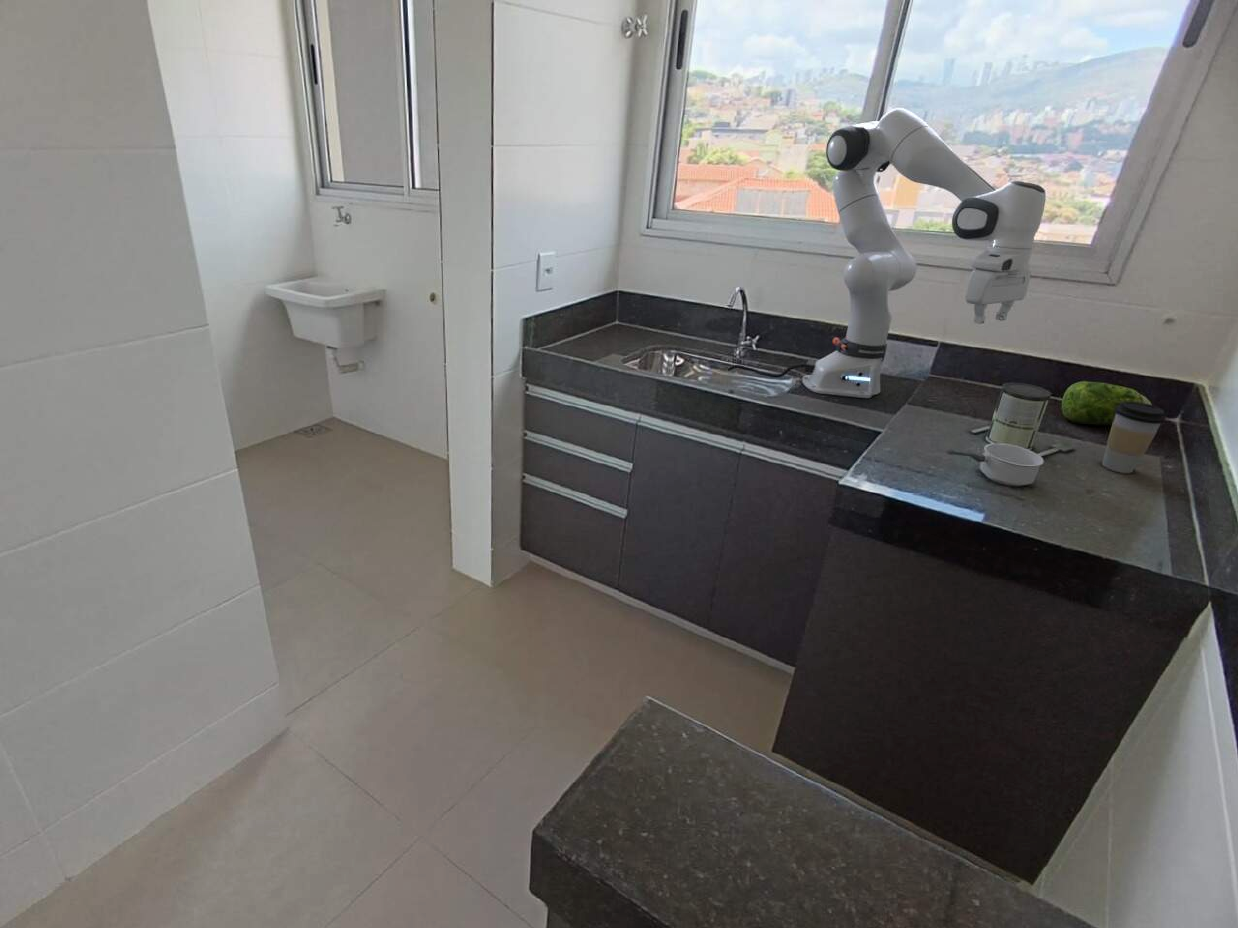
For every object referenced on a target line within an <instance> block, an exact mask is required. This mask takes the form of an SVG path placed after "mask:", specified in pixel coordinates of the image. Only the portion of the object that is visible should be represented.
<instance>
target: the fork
mask: <svg viewBox="0 0 1238 928" xmlns="http://www.w3.org/2000/svg"><path fill="white" fill-rule="evenodd" d="M989 427H990V425H987V426H982V427H979V428H976V429H972V430H970V431H969V433H971V434H972V435H977V434H980V433H984V432H988V431H989Z"/></svg>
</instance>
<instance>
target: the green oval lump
mask: <svg viewBox="0 0 1238 928" xmlns="http://www.w3.org/2000/svg"><path fill="white" fill-rule="evenodd" d="M1123 401H1135V402H1141V403H1146V404H1150V405H1152V403H1151V401H1150V400H1149V399H1148V398H1147V397H1146V396H1144V395H1142V394H1141V393H1139V392H1138V391H1136V390H1135V389H1132V388H1129V387H1126V386H1121V385H1116V384H1111V383H1107V382H1099V381H1098V382H1097V381H1085V380H1083V381H1077V382H1075V383H1073V384H1071V385H1070V386H1068V387H1067V389H1066V390H1065V392H1064V393H1063V396H1062V400H1061V411H1062V415H1063V416H1064V417H1065V419H1068V420H1069V421H1070V422H1072V423H1074V424H1080V425H1092V426H1093V425H1094V426H1112V423H1113V422H1114V419H1115V416H1116V413H1115V412H1114V409H1115V408H1116V406H1118V405H1120V404H1121V403H1122V402H1123Z"/></svg>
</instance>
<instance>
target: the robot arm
mask: <svg viewBox="0 0 1238 928" xmlns="http://www.w3.org/2000/svg"><path fill="white" fill-rule="evenodd" d="M825 147H826V148H825V156H826V160H827V163H828V165H829V166H830V167H831V168H832V169H833V170H836V171H837V172H836V173H835V175H834V177H833V178H832V190H833V197H834V198H833V199H834V203H835V206H836V210H837V213H838V216H839V219H840V223H841V225H842V228H843V232H844V234H845V238H846V240H847V241H848V243H849V244H850V245H851V246H853V247H854V248H855V250H857V252H858V253H859V255H858V256H856V257H854V258H852V259H851V260H849V262H848V263H847V264H846V265H845V267H844V270H843V281H844V284H845V286H846V287H847V289H848V292H849V298H850V313H849V320H848V325H847V330H846V334H845V337H844V338H842V339H841V338H839V337H834V338H833V339H832V344H833V345H835V346H837V347H836V350H835V351H833V352H832V353H829V354H828V355H826V356H824V357H823V358H820V359H818V360H813V359H808V360H807V361H806V363H800V364H799V363H798V364H793V365H790V366H789V367H787V368H786V369H785V370H784V371H783V372H781V373H776V374H775V373H774V374H773V373H771V372H770V373H769V372H765V371H761V370H758V369H756V368H752V367H748V366H744V365H739V364H734V365H732V366H729V367H728V368H727V369H726V371H729V372H730V371H732V370H734V369H741V370H744V371H750V372H752V373H755V374H757V375H761V376H764V377H769V378H782V377H784V376H786V375H787V374H788V373H789V372H790V371H791V370H794V369H798V368H804V372H805V373H810V374H806V375H803V377H802V379H801V382H802V384H803V386H805V387H806V389H808V390H810V391H811V392H813V393H816V394H821V395H822V394H823V395H831V396H832V395H833V396H841V397H852V398H861V399H871V398H872V396H876V395H878V394H880V393H881V374H882V373H881V372H882V364H883V362H884V360H885V357H886V353H887V347H888V344H887V340H888V336H889V331H890V327H891V323H892V319H893V317H892V313H891V312H890V310H889V309H890V308H889V292H892V291H896V290H900V289H901V288H904V287H905V286H907V285H908V284H910V283H911V282H912V281H913V280H914V278H915V276H916V273H917V270H918V267H917V262H916V259H915V258H914V256H913V255H911V253H909V252H908V251H907V250H906V249H905V247H904V246H903V245H902V242H901V241H900V239H899V238H898V237H897V235H896V233H895V232H894V230H893V228H892V227H891V225H890V223H889V220H888V217H887V215H886V212H885V209H884V206H883V203H882V200H881V198H880V197H881V196H880V193H879V192H878V188H877V185H876V182H875V177H876V173H883V172H885V171H886V170H887V168H888V167H890V164H891V166H892V167H893V168H894V169H895V170H896V171H897V172H898V173H899V174H901V175H902V176H903V177H905V179H908V180H910V181H911V182H913V183H916V184H922V185H928V186H932V187H936V188H940V189H943V190H945V191H947V192H949V193H950V194H952V195H954V196H955V197H956V198H957V199H958V200H959V201H960V203H959V204H958V205H957V206H956V208H955V210H954V211H953V214H952V216H951V217H952V218H951V228H952V231H953V233H954V234H955V235H956V236H957V237H958V238H960V239H963V240H965V241H981V242H982V241H988V245H987V249H986V250H984V251H983V252H982V253H981V254H979V255H977V256H975V257H974V258H973V260H972V262H971V268H972V269H973V270H972V271H971V273H970V276H969V279H968V283H967V287H966V292H965V301H966V303H967V304H970V305H974V306H973V311H974V318H973V323H974V324H977V325H980V324H984V323H985V320H986V318H987V316H986V315H985V314H986V313H985V311H986V309H987V307H988V305H993V304H1001V306H1000V308H999V311H996V315H995V320H997V321H1001V322H1002V321H1006V320H1007V317H1008V313H1009V312H1010V311H1011V309H1012V308H1013V306H1014V303H1015V302H1016V301H1022V300H1024V298H1025V297H1026V295H1027V292H1028V289H1029V284H1030V280H1031V275H1032V274H1031V271H1032V270H1031V269H1030V260H1031V257H1032V254H1033V250H1034V246H1035V245H1034V241H1035V236H1036V234H1037V233H1038V231H1039V229H1040V226H1041V222H1042V219H1043V215H1044V212H1045V211H1044V210H1045V205H1046V200H1047V199H1046V198H1047V195H1046V194H1047V193H1046V190H1045V188H1043V187H1042V186H1040V185H1039V184H1036V183H1031V182H1026V181H1021V180H1013V181H1009V182H1008V183H1006V184H1005V185H1004V186H1002V187H1000V188H997V189H996V188H994V187H993V186H992V185H991V184H990V183H989V182H987V181H986V180H985V179H984V178H983V177H982V176H980V174H979V173H978V172H977V171H975V170H974V169H973V168H972V167H970V166H969V165H968V164H967V163H965V162H964V161H963V160H962V159H961V158H960V157H959V155H957V154H956V153H955V152H954V151H953V149H951V147H950V146H948V144H946V142H945V140H943V139H942V138H941V137H940V136H939V135H938V133H937V132H936V131H934V129H932V128H931V127H930V126H929V125H928V124H927V123H926V122H925V121H924V120H923V119H921V118H920V117H919V116H917V115H916V114H915V113H913V112H912V111H909V110H907V109H905V108H901V107H898V108H893V109H891V110H889V111H888V112H887V113H885V114H884V115H883V116H881V118H880V119H879V120H878V121H865V122H862V123H858V124H855V125H854V124H853V125H845V126H843V127H841V128H839V129H837V130H836V131H833V132H832V133H831V135H830V136H829V138H828V140H827V143H826V146H825Z"/></svg>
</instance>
